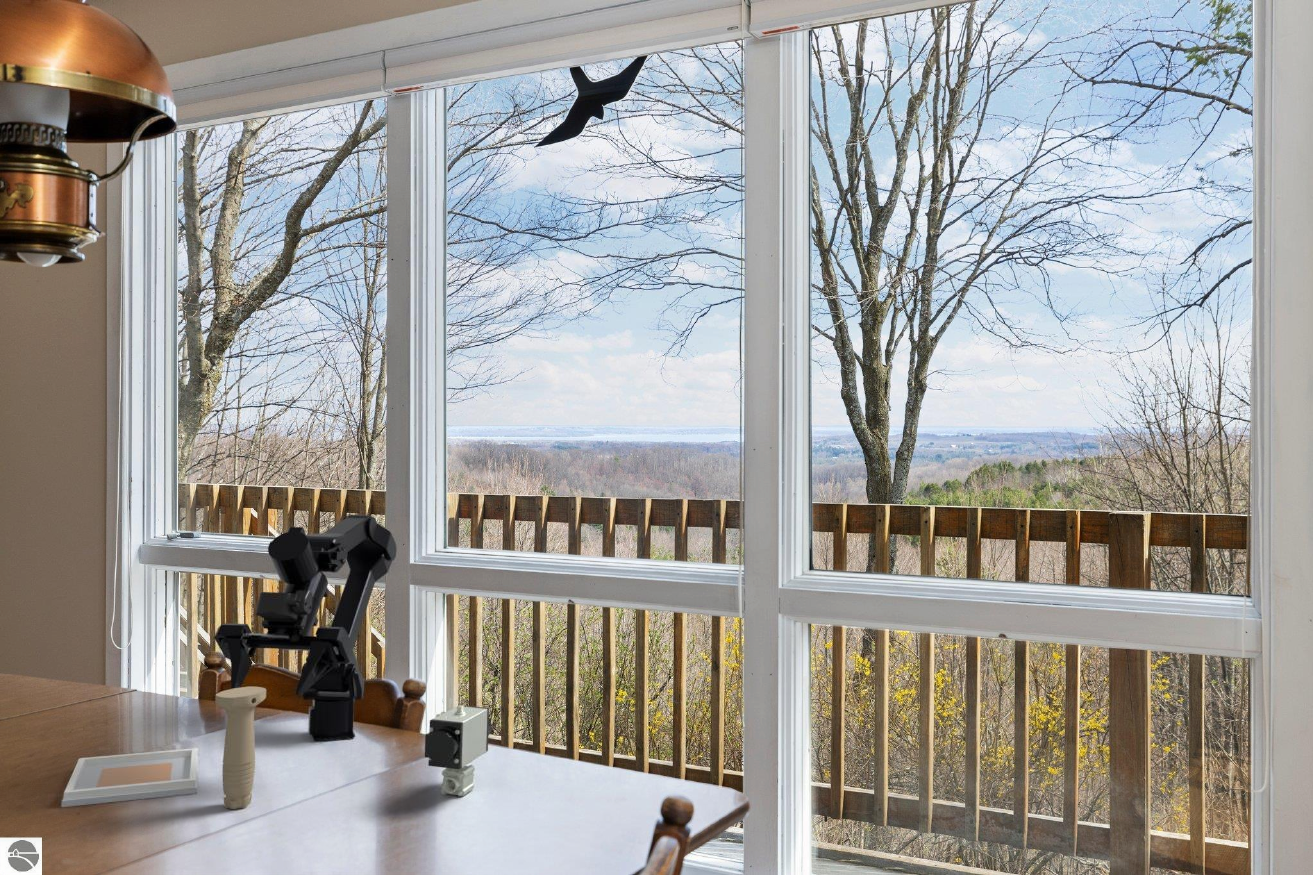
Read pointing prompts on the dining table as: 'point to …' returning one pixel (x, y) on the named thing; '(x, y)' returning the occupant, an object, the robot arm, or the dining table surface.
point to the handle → (239, 743)
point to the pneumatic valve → (458, 745)
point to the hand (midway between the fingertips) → (265, 694)
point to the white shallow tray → (132, 777)
